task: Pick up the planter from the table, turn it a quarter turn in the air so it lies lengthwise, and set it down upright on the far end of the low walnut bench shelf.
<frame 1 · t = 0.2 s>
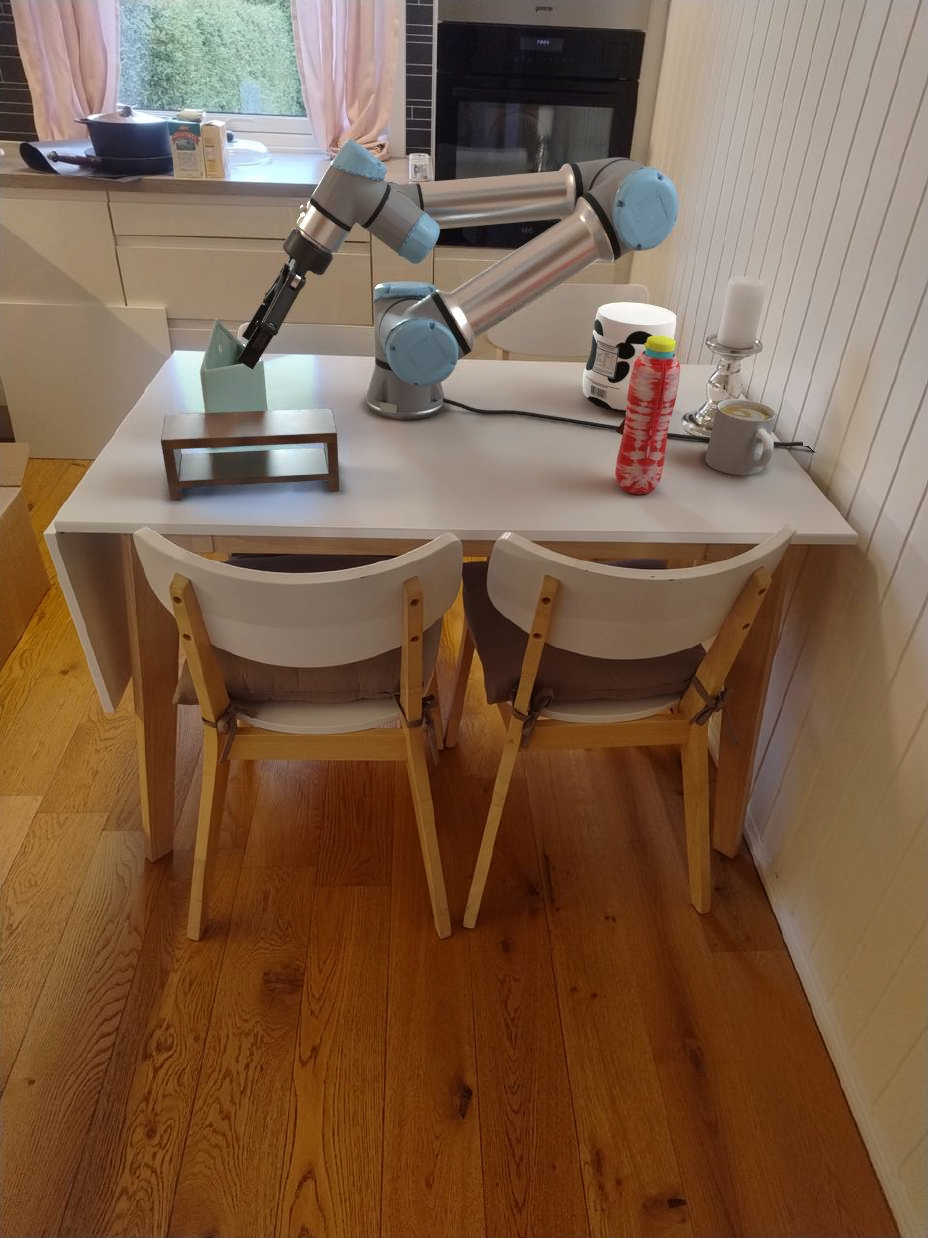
hand: (247, 351, 145), 16 cm above the table, tool tilted 35°, fingers open, 13 cm apart
coffee mug: (737, 468, 154), on the table
milk container: (622, 404, 177), on the table
water bottle: (633, 484, 147), on the table
shelf: (256, 481, 141), on the table
planter: (248, 433, 157), on the table
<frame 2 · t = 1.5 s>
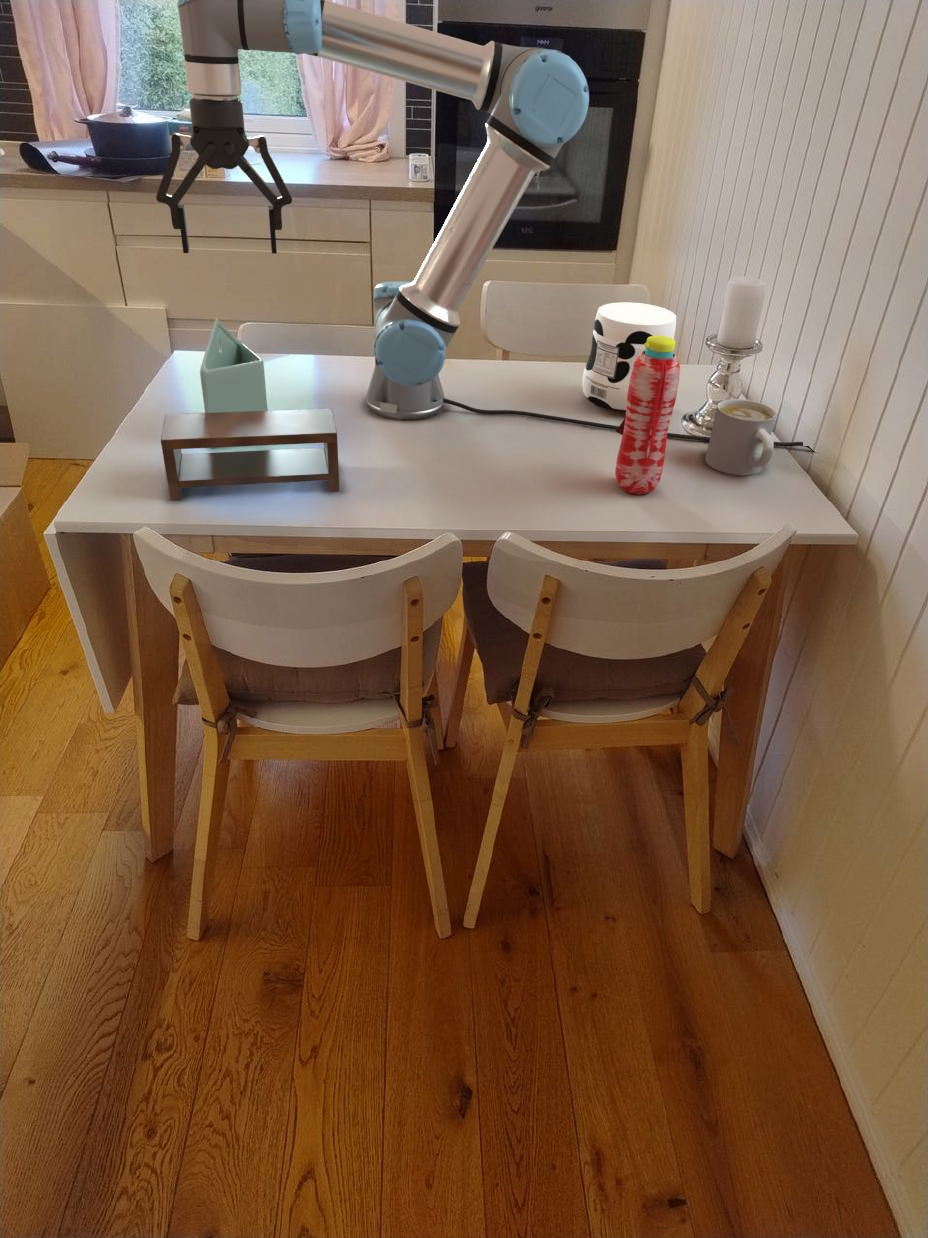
hand: (230, 251, 139), 31 cm above the table, tool pointing down, fingers open, 13 cm apart
nothing on the table moved.
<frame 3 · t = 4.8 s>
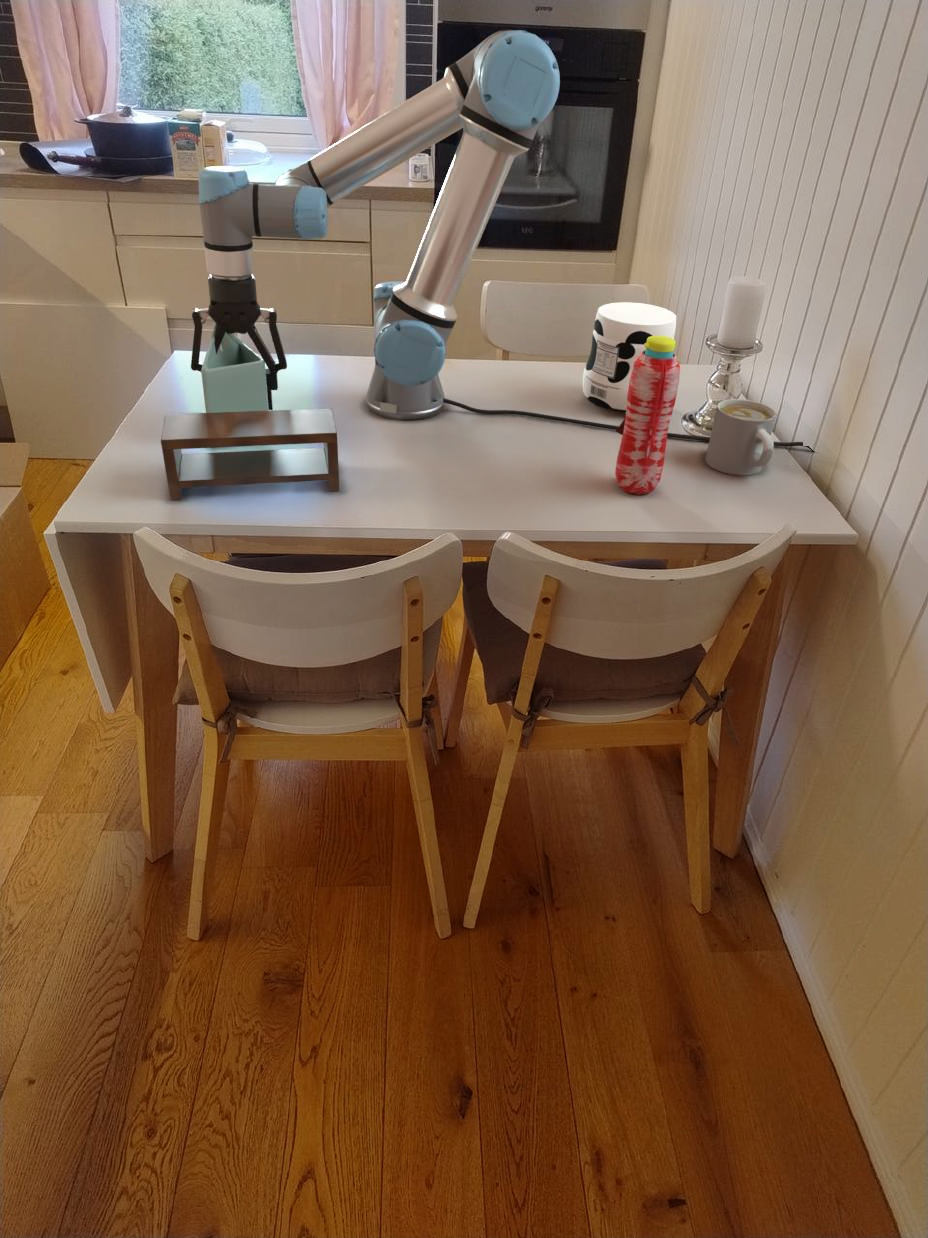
hand: (243, 407, 154), 5 cm above the table, tool pointing down, fingers closed on planter, 9 cm apart
planter: (249, 433, 157), on the table, touching gripper
everything else where it was.
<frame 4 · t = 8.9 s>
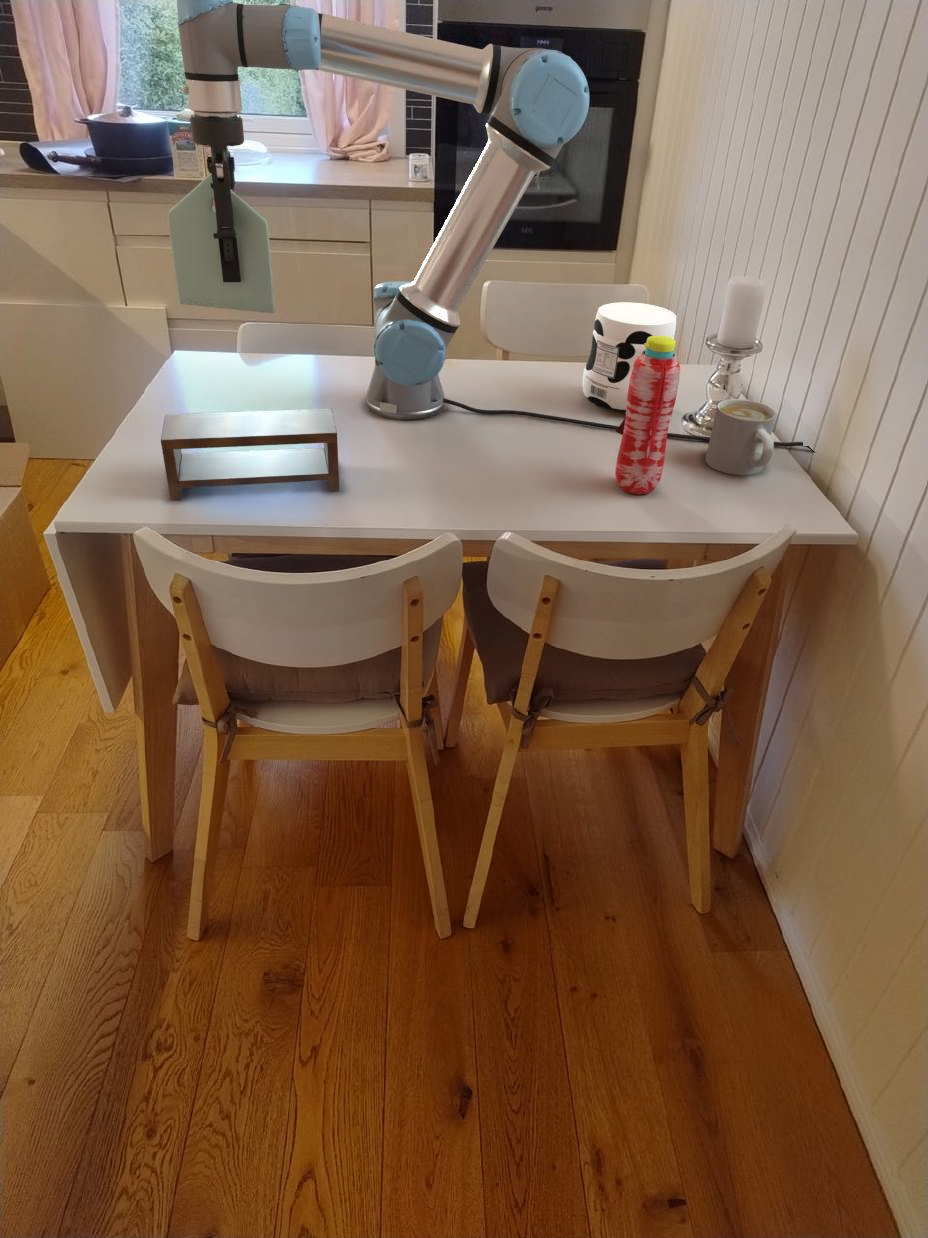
hand: (232, 273, 141), 27 cm above the table, tool pointing down, fingers closed on planter, 9 cm apart
planter: (236, 303, 144), point 22 cm above the table, touching gripper
everything else where it was.
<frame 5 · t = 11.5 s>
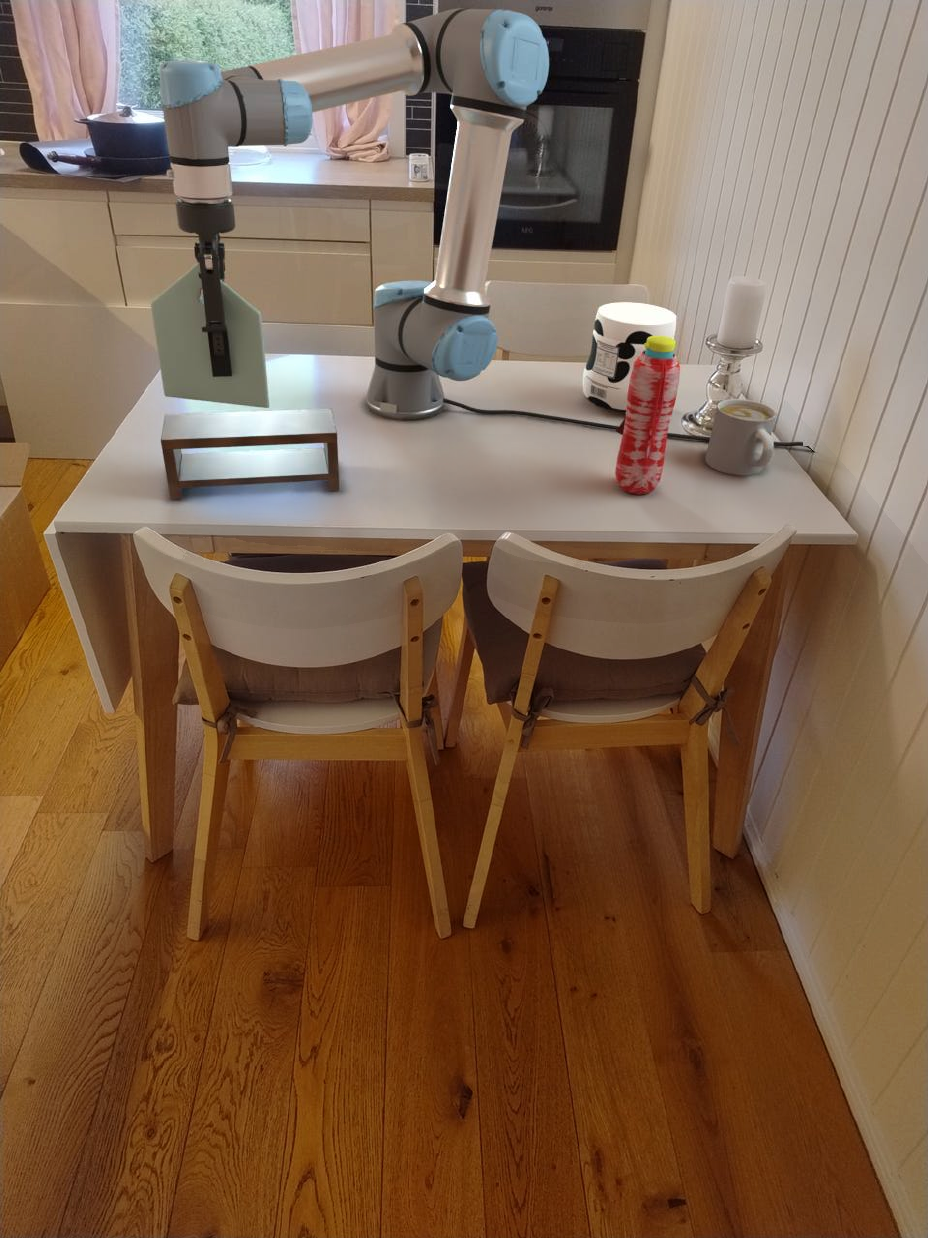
hand: (222, 364, 129), 19 cm above the table, tool pointing down, fingers closed on planter, 9 cm apart
planter: (226, 394, 133), point 15 cm above the table, touching gripper
everything else where it was.
when the fingers open (15 cm above the table, at t = 13.3 s): planter stays where it is, resting on shelf.
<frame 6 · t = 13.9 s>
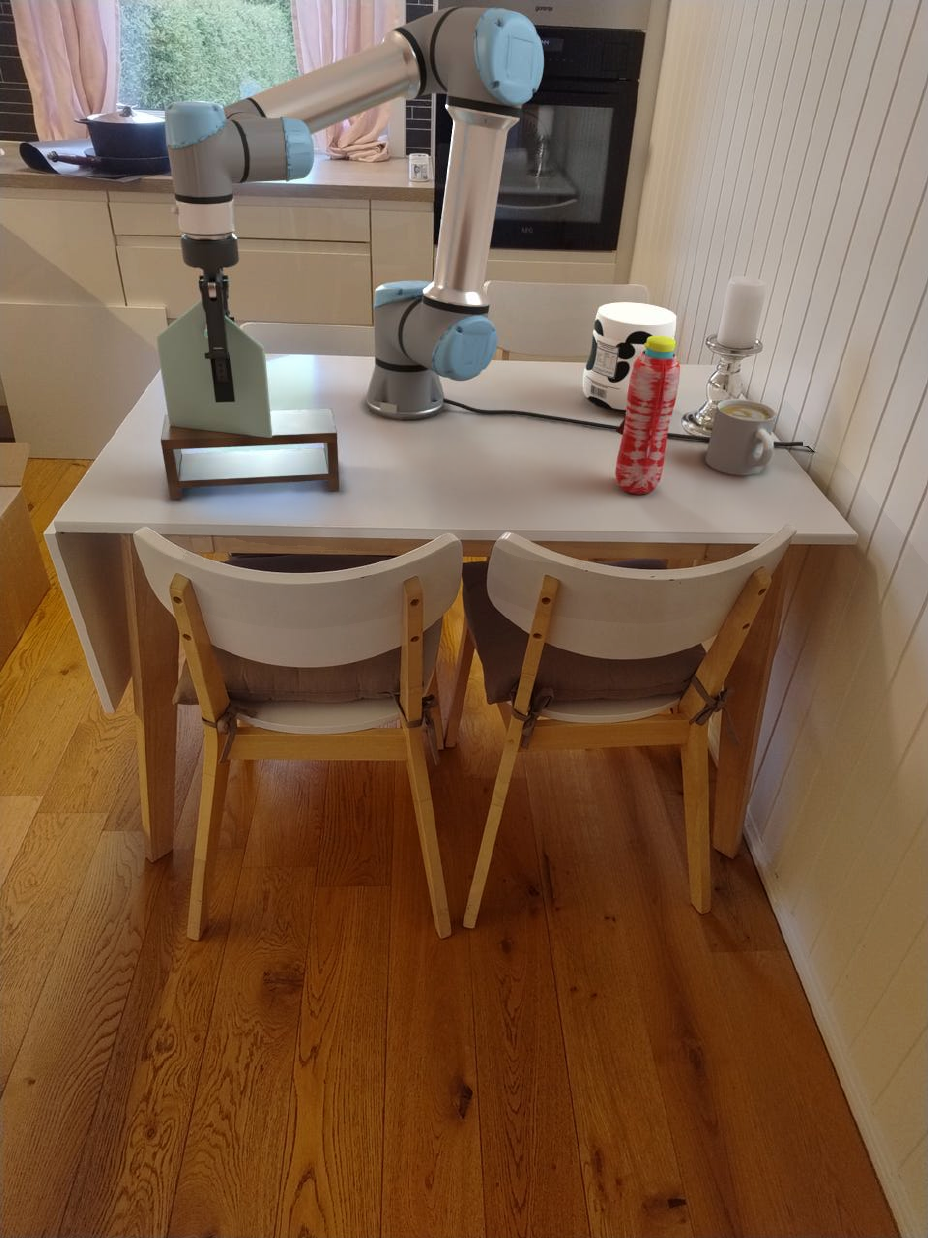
hand: (225, 384, 131), 16 cm above the table, tool pointing down, fingers open, 13 cm apart
planter: (230, 423, 135), point 10 cm above the table, touching shelf
everything else where it was.
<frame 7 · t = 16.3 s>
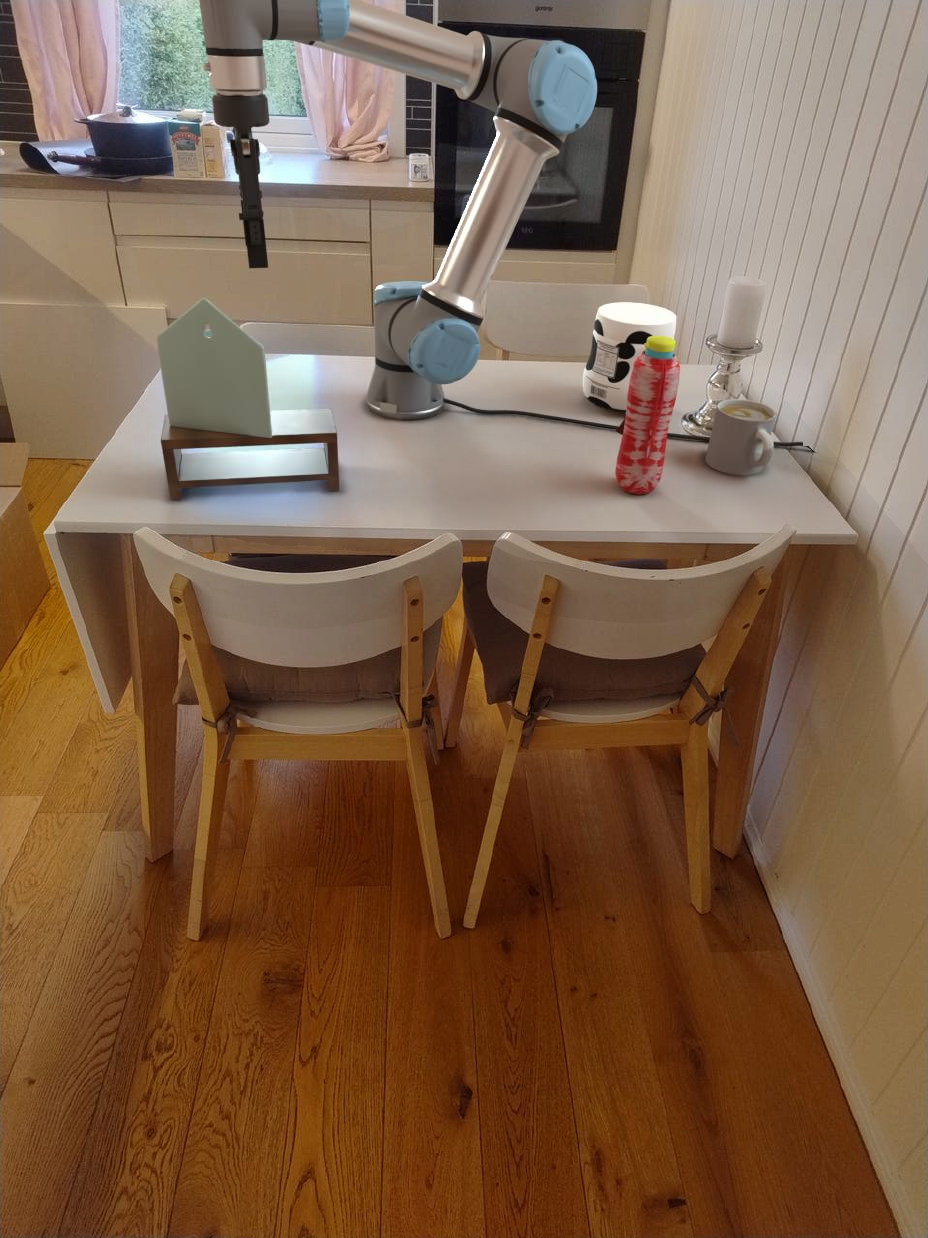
hand: (256, 256, 132), 32 cm above the table, tool pointing down, fingers open, 13 cm apart
nothing on the table moved.
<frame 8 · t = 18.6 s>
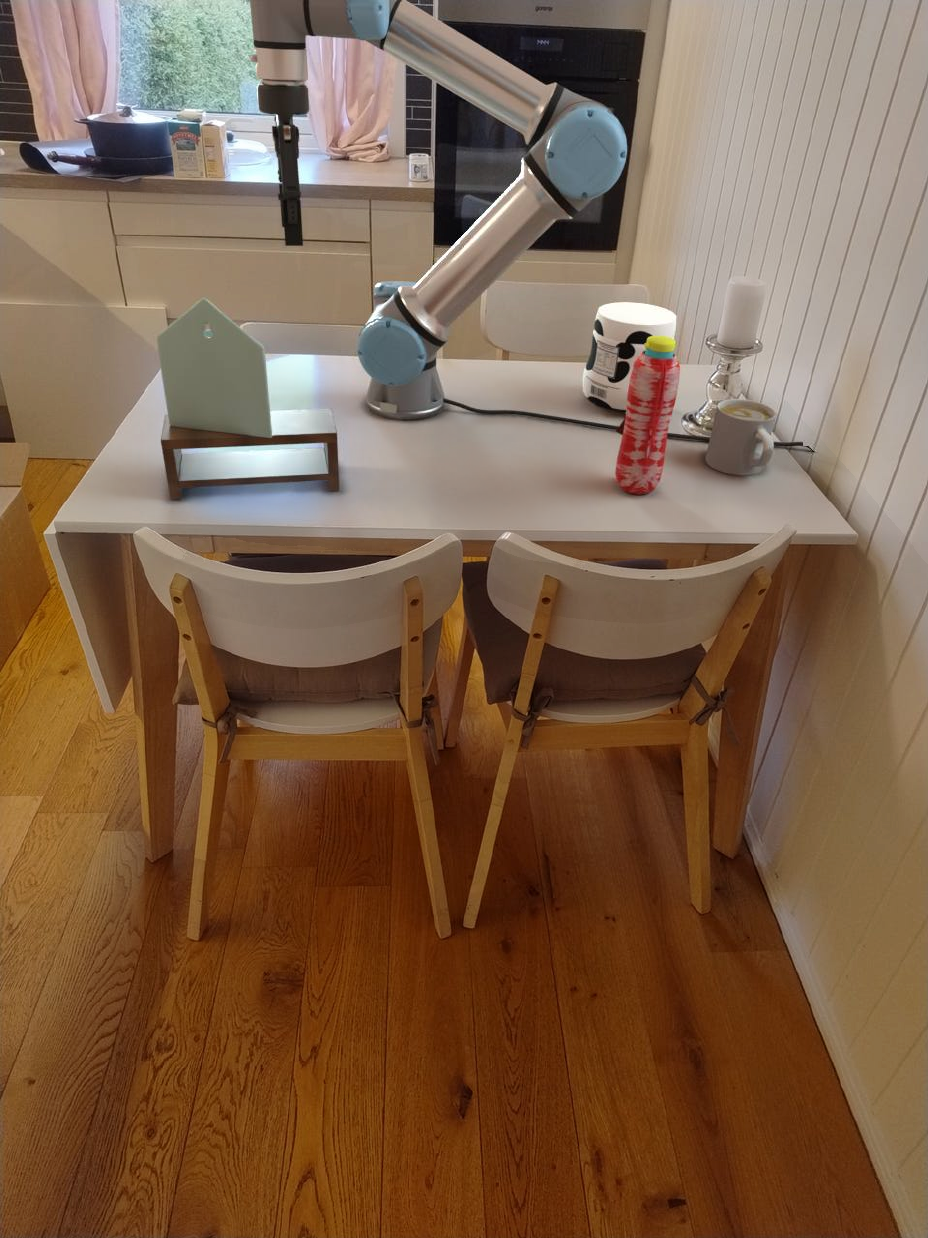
hand: (292, 235, 142), 33 cm above the table, tool pointing down, fingers open, 13 cm apart
nothing on the table moved.
at the end: planter inside the target area on the shelf (1.0 cm from its centre), point 9.8 cm above the shelf's base; planter tilted 0°; the gripper is holding nothing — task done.
